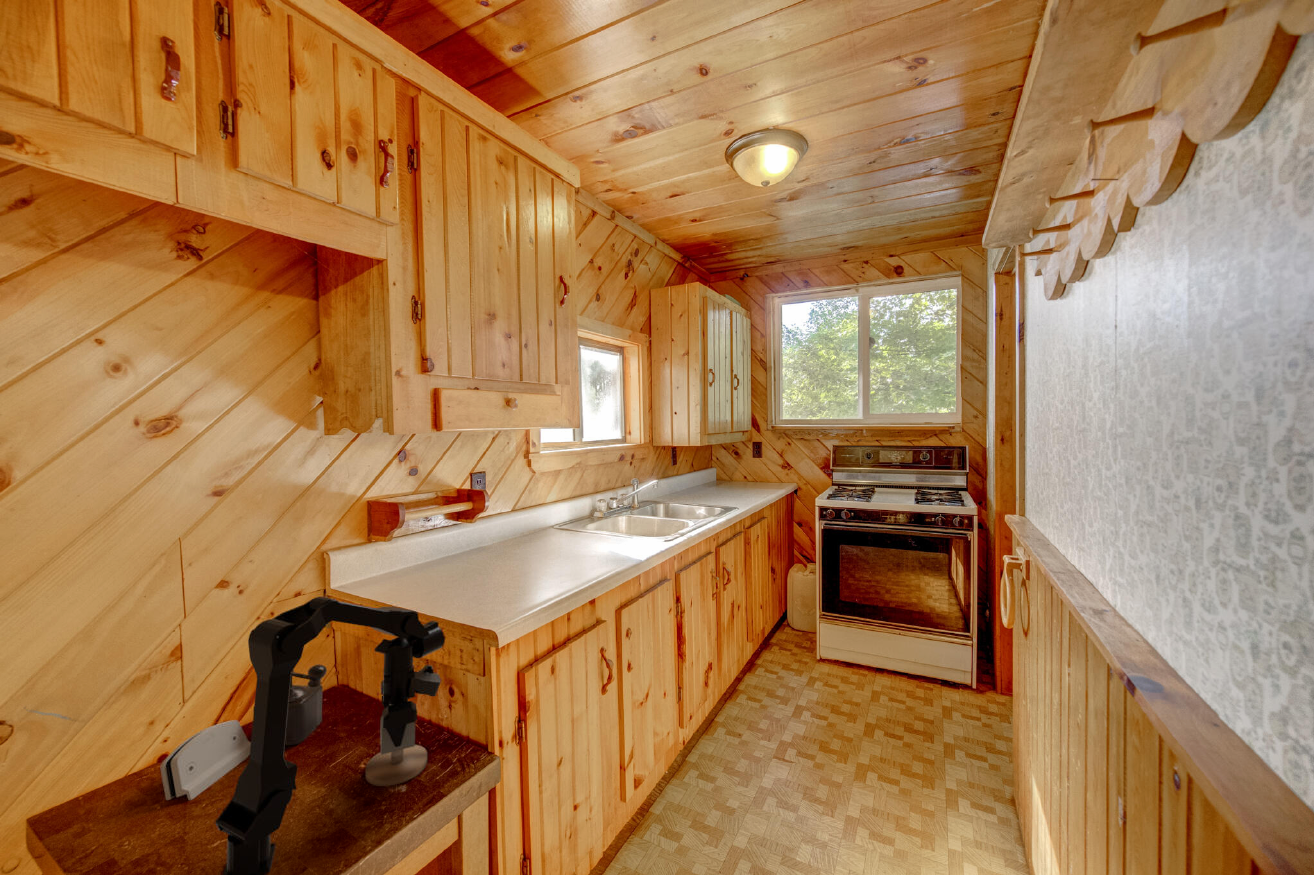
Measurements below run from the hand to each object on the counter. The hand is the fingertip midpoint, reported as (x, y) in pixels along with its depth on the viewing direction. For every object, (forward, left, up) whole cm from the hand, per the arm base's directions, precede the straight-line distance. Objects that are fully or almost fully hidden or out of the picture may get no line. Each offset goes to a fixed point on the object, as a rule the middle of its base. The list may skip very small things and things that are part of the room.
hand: (397, 738), depth 112 cm
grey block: (0, 0, -1) cm, 1 cm away
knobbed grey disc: (0, 0, -6) cm, 7 cm away
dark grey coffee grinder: (+25, +20, -7) cm, 33 cm away
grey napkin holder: (+17, +35, -7) cm, 40 cm away
